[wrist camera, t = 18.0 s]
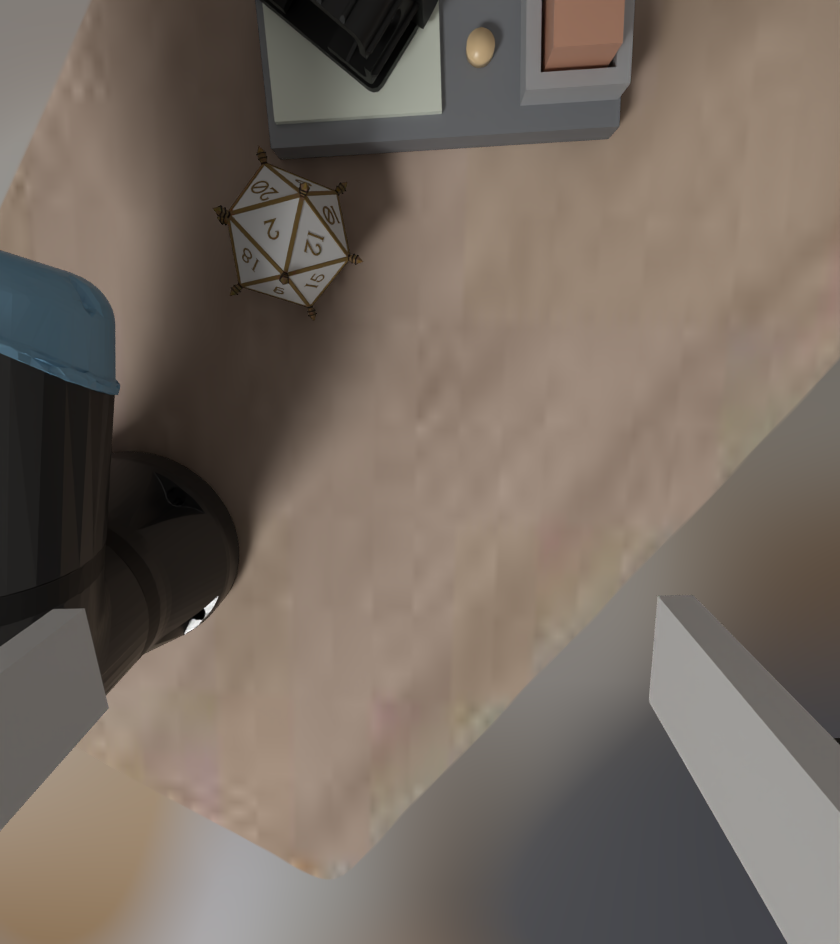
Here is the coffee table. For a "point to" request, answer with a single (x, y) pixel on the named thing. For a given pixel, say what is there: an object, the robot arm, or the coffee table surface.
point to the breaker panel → (440, 87)
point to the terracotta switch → (580, 33)
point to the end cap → (358, 31)
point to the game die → (287, 236)
